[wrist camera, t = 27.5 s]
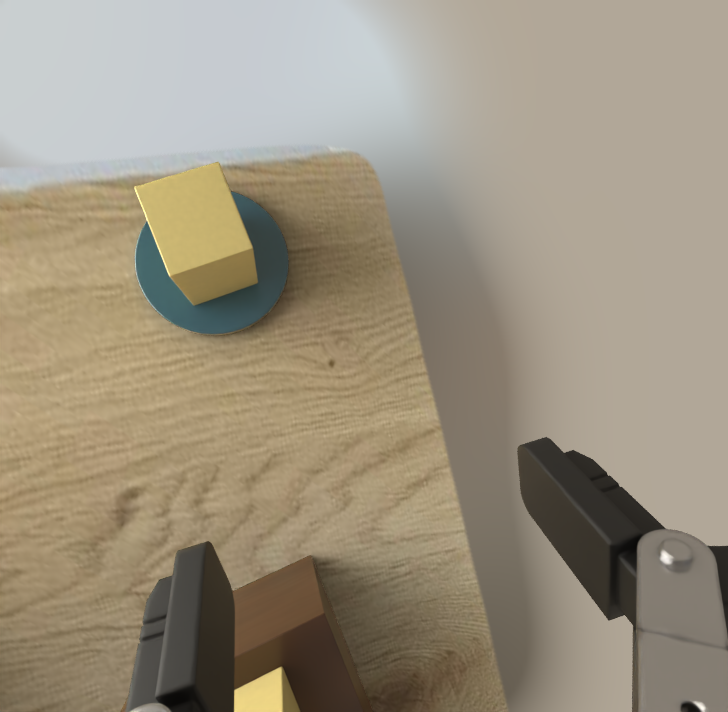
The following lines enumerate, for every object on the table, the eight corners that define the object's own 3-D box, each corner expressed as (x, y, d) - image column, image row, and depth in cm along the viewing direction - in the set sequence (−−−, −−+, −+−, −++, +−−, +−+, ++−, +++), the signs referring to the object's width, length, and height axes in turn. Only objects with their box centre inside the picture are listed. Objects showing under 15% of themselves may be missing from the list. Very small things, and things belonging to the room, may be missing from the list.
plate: (215, 165, 36) (213, 158, 35) (317, 266, 37) (318, 262, 36) (105, 261, 35) (100, 257, 34) (214, 366, 35) (212, 365, 34)
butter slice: (258, 283, 35) (253, 248, 27) (193, 306, 34) (169, 276, 26) (231, 215, 35) (218, 161, 27) (166, 236, 34) (133, 186, 27)
